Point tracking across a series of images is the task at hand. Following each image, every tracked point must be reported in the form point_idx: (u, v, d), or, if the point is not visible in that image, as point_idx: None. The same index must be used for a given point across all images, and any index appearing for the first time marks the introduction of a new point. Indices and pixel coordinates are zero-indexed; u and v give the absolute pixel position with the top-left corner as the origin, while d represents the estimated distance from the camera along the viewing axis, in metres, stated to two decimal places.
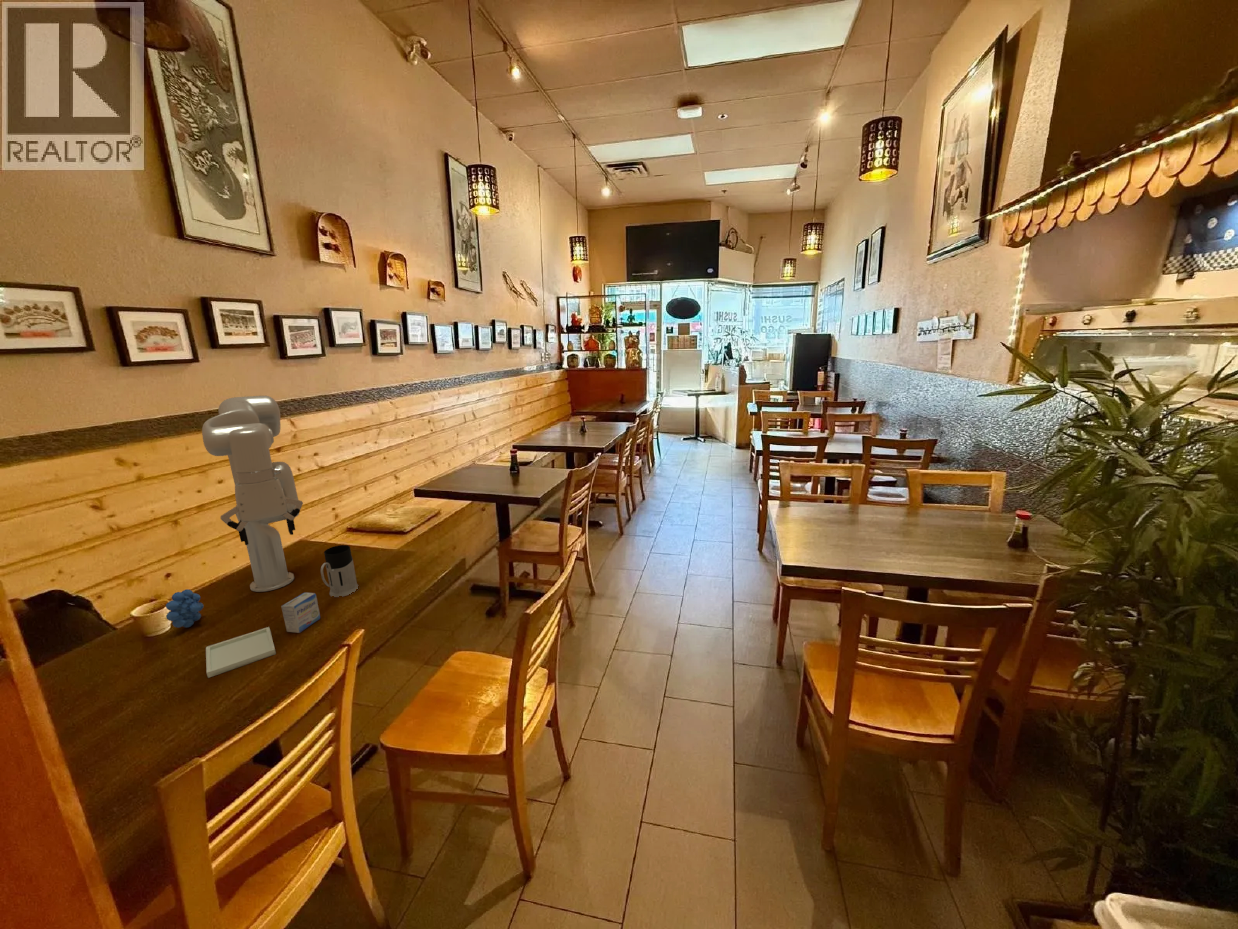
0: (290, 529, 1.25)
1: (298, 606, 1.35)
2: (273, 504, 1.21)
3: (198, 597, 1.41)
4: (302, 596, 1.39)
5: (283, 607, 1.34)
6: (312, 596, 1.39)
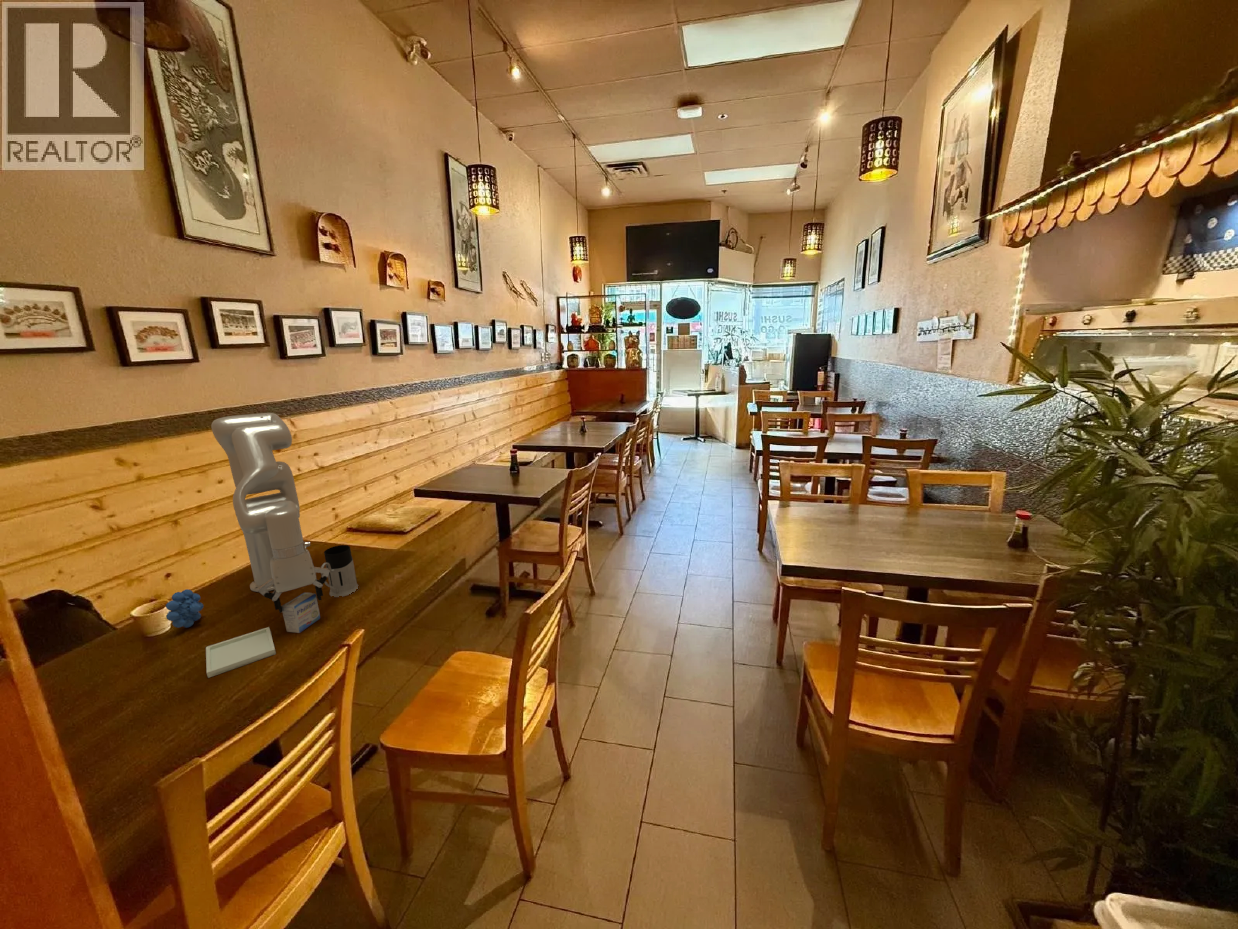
0: (319, 595, 1.39)
1: (298, 606, 1.35)
2: (304, 575, 1.35)
3: (198, 597, 1.41)
4: (302, 596, 1.39)
5: (283, 607, 1.34)
6: (312, 596, 1.39)
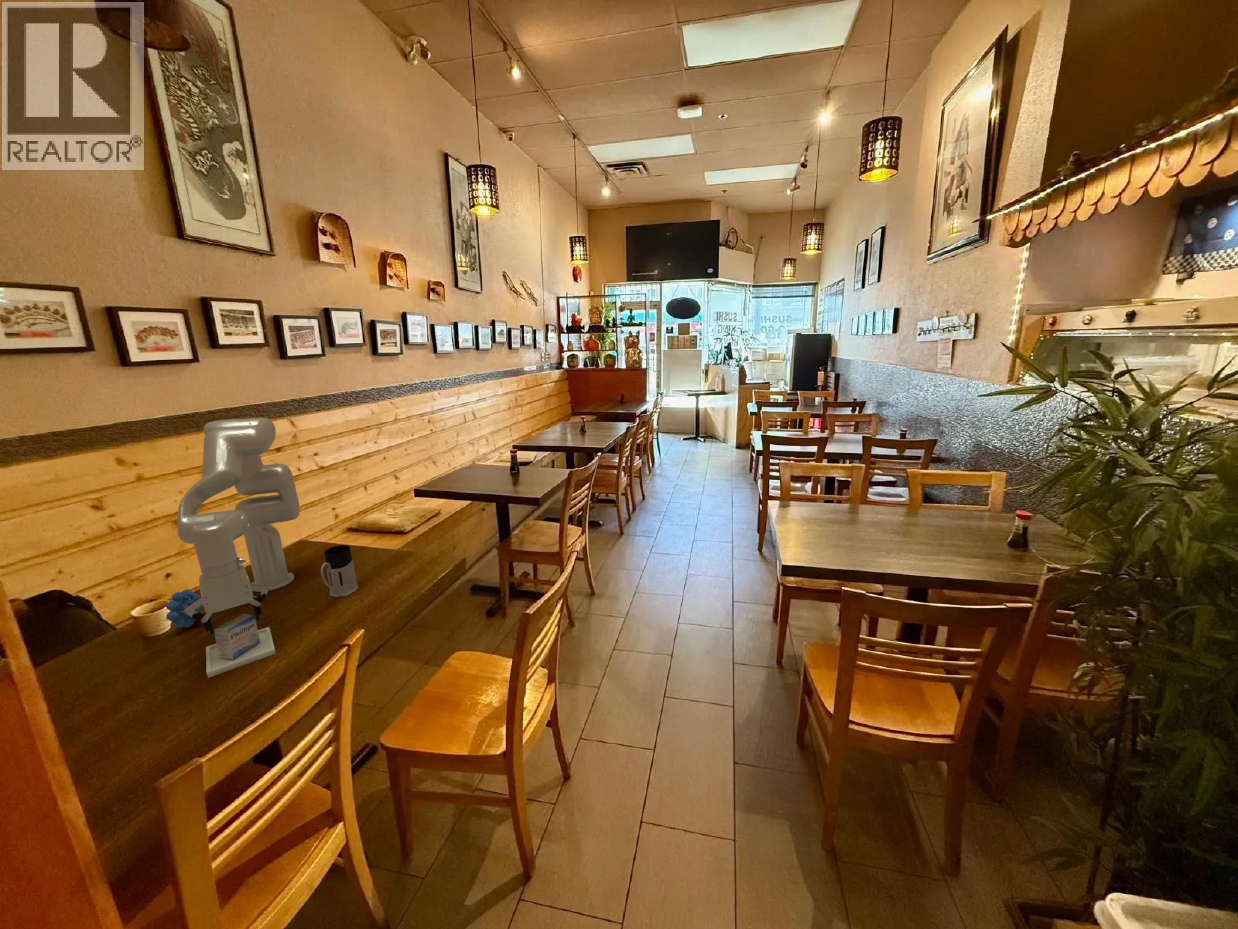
0: (256, 615, 1.27)
1: (232, 629, 1.22)
2: (238, 594, 1.23)
3: (198, 597, 1.41)
4: (239, 618, 1.26)
5: (215, 631, 1.22)
6: (250, 618, 1.27)
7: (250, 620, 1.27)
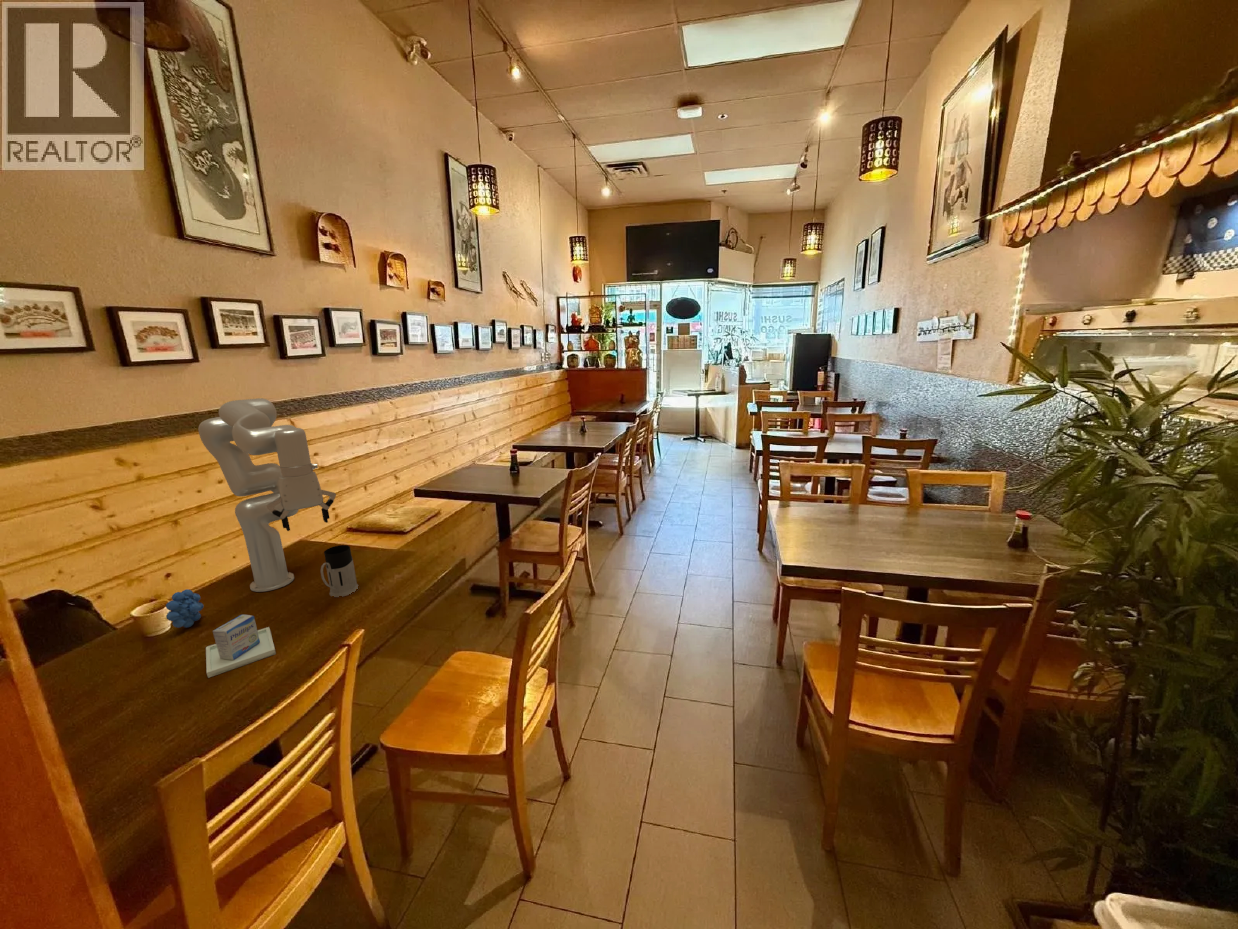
0: (325, 517, 1.42)
1: (231, 630, 1.22)
2: (311, 495, 1.38)
3: (198, 597, 1.41)
4: (238, 619, 1.26)
5: (215, 632, 1.21)
6: (249, 619, 1.27)
7: (249, 621, 1.27)
